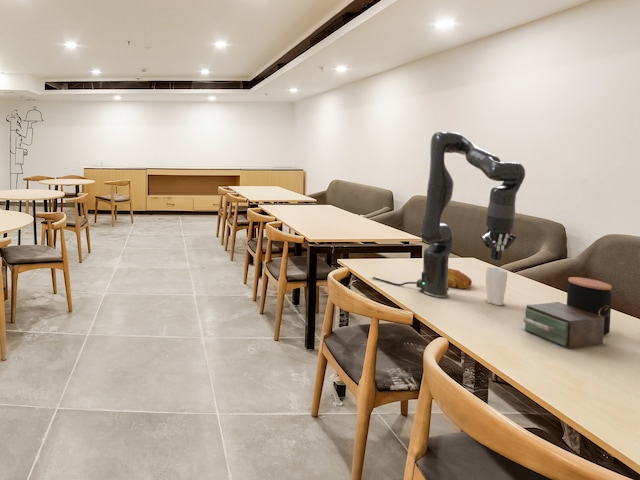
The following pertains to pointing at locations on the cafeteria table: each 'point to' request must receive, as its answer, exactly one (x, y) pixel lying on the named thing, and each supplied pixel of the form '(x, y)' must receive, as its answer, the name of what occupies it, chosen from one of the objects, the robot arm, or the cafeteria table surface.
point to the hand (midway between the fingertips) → (495, 259)
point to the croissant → (458, 279)
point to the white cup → (495, 285)
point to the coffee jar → (590, 297)
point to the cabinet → (574, 324)
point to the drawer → (546, 326)
